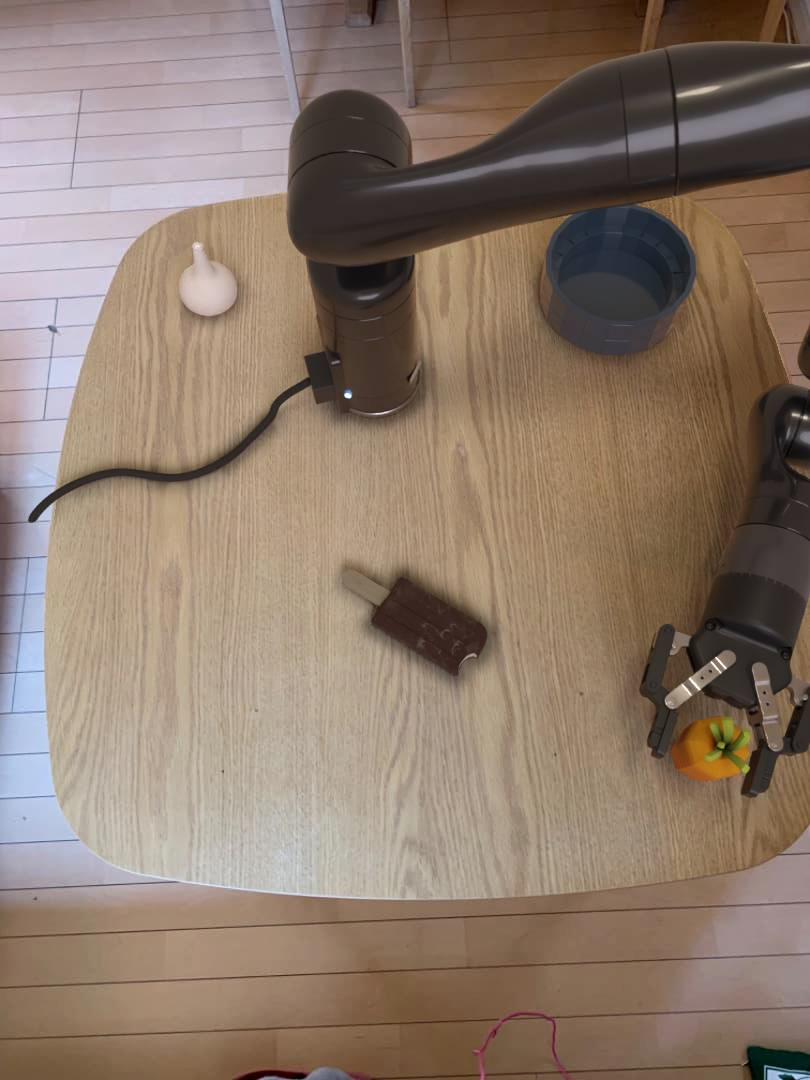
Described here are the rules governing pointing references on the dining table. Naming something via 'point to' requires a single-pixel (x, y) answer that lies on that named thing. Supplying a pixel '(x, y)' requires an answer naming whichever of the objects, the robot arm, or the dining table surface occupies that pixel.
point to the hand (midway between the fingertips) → (702, 775)
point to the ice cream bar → (421, 621)
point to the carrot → (711, 749)
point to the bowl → (616, 279)
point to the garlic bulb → (207, 285)
